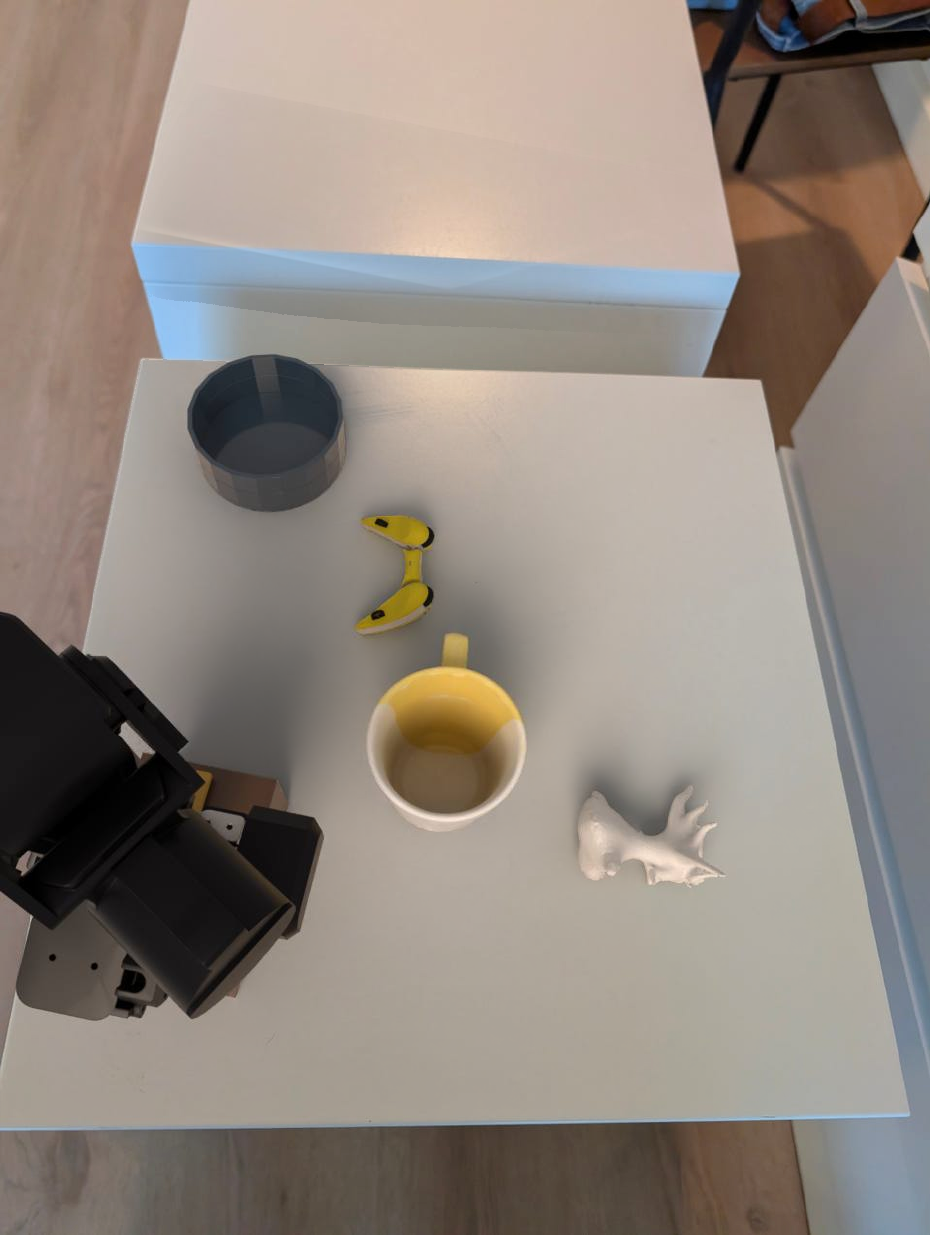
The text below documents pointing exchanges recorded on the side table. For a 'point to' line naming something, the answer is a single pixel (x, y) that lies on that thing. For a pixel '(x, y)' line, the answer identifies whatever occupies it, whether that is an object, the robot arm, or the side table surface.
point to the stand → (239, 794)
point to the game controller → (413, 593)
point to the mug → (446, 743)
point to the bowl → (268, 432)
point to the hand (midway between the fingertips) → (173, 871)
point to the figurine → (644, 843)
